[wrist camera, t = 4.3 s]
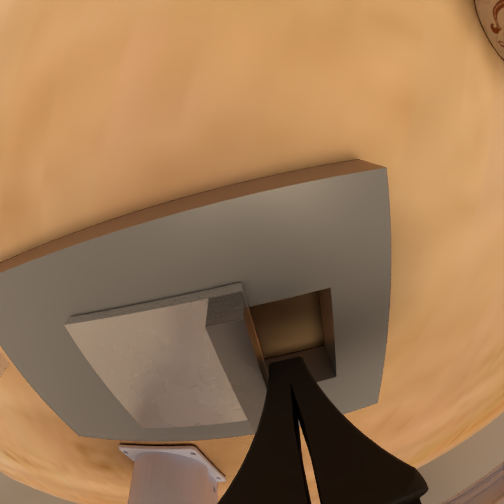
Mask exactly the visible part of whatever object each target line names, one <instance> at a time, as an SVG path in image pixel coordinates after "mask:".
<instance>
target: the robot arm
mask: <svg viewBox="0 0 504 504" xmlns="http://www.w3.org/2000/svg"><path fill="white" fill-rule="evenodd" d="M298 420H299V421H298ZM299 423H300V426H301V429H302V432H303V435H304V438H305V441H306V444H307V447H308V450H309V453H310V457H311V461H312V465H313V470H314V474H315V479H316V484H317V489H318V494H319V498H320V503H321V504H421V501H420V497H421V496H422V495H424V494H425V493H426V492H427V491H428V486H427V483H426V482H425V480H424V478H423V477H422V476H421V474H420V473H419V472H418V471H417V470H416V469H415V468H414V467H412V466H410V465H408V464H407V463H405V462H403V461H401V460H400V459H398V458H396V457H395V456H393V455H391V454H390V453H388V452H387V451H385V450H384V449H382V448H381V447H380V446H378V445H377V444H376V443H374V442H373V441H372V440H370V439H369V438H368V437H367V436H365V435H364V434H363V433H362V432H361V431H360V430H358V429H357V428H356V427H355V426H354V425H353V424H352V423H351V422H350V421H349V420H348V419H347V418H346V417H345V416H344V415H343V414H342V413H341V412H340V411H339V410H338V409H337V408H336V407H335V405H334V404H333V403H332V402H331V401H330V400H329V398H328V397H327V396H326V395H325V393H324V392H323V391H322V389H321V388H320V387H319V385H318V384H317V382H316V381H315V379H314V378H313V376H312V375H311V373H310V372H309V370H308V368H307V366H306V364H305V362H304V360H303V358H302V357H300V356H298V357H294V358H290V359H286V360H281V361H277V362H272V363H270V364H269V378H268V386H267V393H266V398H265V402H264V407H263V411H262V414H261V418H260V421H259V425H258V428H257V431H256V434H255V436H254V439H253V442H252V444H251V446H250V449H249V451H248V453H247V455H246V457H245V460H244V462H243V464H242V466H241V468H240V469H239V471H238V473H237V475H236V476H235V478H234V480H233V481H232V483H231V485H230V486H229V488H228V489H227V491H226V492H225V494H224V495H223V497H222V498H221V499H220V501H219V502H218V492H217V482H225V481H226V478H225V477H224V476H223V475H222V474H221V473H220V472H219V471H218V470H217V469H216V468H215V467H214V466H213V465H212V464H211V463H210V462H209V461H208V460H207V459H206V458H205V457H204V456H203V455H202V453H201V452H200V451H199V450H198V449H197V448H196V447H194V446H134V445H119V448H118V449H119V450H120V451H121V452H123V453H124V454H125V455H126V456H128V457H129V458H130V459H131V460H133V461H134V462H135V463H134V468H133V474H132V480H131V486H130V492H129V498H128V504H311V500H310V495H309V490H308V485H307V480H306V475H305V470H304V465H303V459H302V451H301V440H300V430H299ZM440 504H504V462H502V463H501V464H500V465H498V466H497V467H496V468H494V469H493V470H492V471H491V472H489V473H488V474H487V475H485V476H484V477H482V478H481V479H479V480H478V481H476V482H475V483H473V484H472V485H470V486H469V487H467V488H466V489H464V490H462V491H461V492H459V493H457V494H456V495H454V496H452V497H451V498H449V499H447V500H445V501H444V502H442V503H440Z"/></svg>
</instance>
